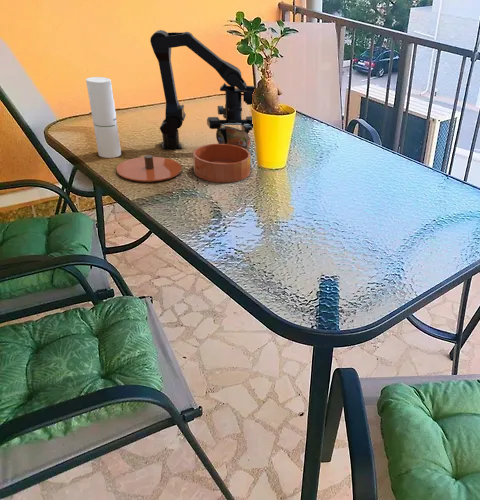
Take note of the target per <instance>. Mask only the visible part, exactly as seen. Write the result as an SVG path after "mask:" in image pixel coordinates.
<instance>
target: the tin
mask: <svg viewBox="0 0 480 500" xmlns="http://www.w3.org/2000/svg"><path fill="white" fill-rule="evenodd" d="M224 127H225V129H226V134H227V144H230V145H235V146H239V147H242V148H244V149H246V150H248V151H249V150H250V148H251V137H250V135H249V133H248V134H247V133H246V132H245V131H243V130H242V129H239V128H236V127H233V126H230V125H224ZM215 139H216V141H217V144H225V142H224V139H223V137H222V134H221V132H220V131H218V130H217V129H216V132H215Z"/></svg>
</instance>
